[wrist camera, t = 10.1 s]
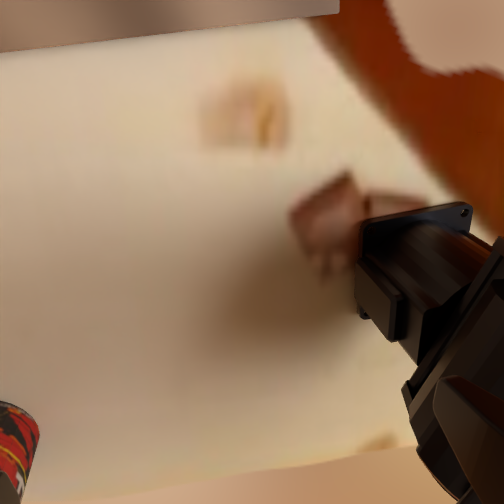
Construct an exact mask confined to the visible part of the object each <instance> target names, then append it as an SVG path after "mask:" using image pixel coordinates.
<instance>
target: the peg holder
mask: <svg viewBox="0 0 504 504" xmlns="http://www.w3.org/2000/svg"><path fill="white" fill-rule="evenodd" d="M336 13H339V0H0V53H2V52H11V51H19V50H28V49H36V48H45V47H53V46H62V45H71V44H79V43H88V42H96V41H105V40H113V39H122V38H130V37H139V36H148V35H156V34H165V33H173V32H182V31H190V30H199V29H207V28H216V27H225V26H233V25H242V24H250V23H259V22H267V21H276V20H284V19H293V18H301V17H310V16H319V15H327V14H336Z"/></svg>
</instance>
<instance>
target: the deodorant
mask: <svg viewBox="0 0 504 504" xmlns="http://www.w3.org/2000/svg"><path fill="white" fill-rule="evenodd" d="M39 436H40V434H39V429H38V425H37V424H36V422H35V421H34V419H33V417H31V416H30V415H29V414H28V413H27V412H25V411H24V410H23V409H21V408H19V407H17V406H15V405H13V404H10V403H6V402H3V401H0V471H4V472H6V473H7V474H8V476H9V478H10V480H11V481H12V483H13V485H14V487H15V488H16V490H17V492H18V494H19V497H20V504H21V500H22V497H23V493H24V490H25V486H26V483H27V479H28V476H29V472H30V469H31V465H32V462H33V458H34V455H35V451H36V448H37V444H38V440H39Z"/></svg>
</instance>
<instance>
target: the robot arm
mask: <svg viewBox="0 0 504 504" xmlns="http://www.w3.org/2000/svg"><path fill="white" fill-rule="evenodd" d="M462 210H464V211H463V213H462V214H461V212H462ZM472 214H473V208H472V206H471V205H469V204H467V203H465V202H459V203H454V204H448V205H443V206H438V207H433V208H427V209H422V210H417V211H412V212H406V213H401V214H396V215H391V216H386V217H380V218H375V219H370V220H367V221H365V222H363V223H362V225H361V226H360V233H359V258H358V259H357V261H356V263H355V298H356V300H357V313H358V314H359V316H360V317H361V318H362V319H364V320H367V319H372V321H373V322H374V323H375V325H376V326H377V327H378V329H379V330H380V331H381V332H382V334H383V335H384V336H385V338H386V339H387V340H388V341H390V342H391V343H392V342H397V341H398V342H399V344H400V345H401V346H402V347H403V349H404V350H405V351H406V352H407V354H408V355H409V356H410V357H411V359H412V360H413V361H414V362H415V364H416V365H417V366H418V367H417V369H416V371H415V372H414V374H413V375H412V377H411V378H410V380H407V381H406V382H405V384H404V385H403V387H402V388H401V391H402V395H403V398H404V401H405V404H406V407H407V410H408V413H409V421H410V424H411V426H412V429H413V431H414V434H415V436H416V439H417V442H418V446H417V448H416V451H417V453H418V456H419V458H420V459H421V461H422V462H423V463H424V465H425V466H426V468H427V469H428V470H429V472H430V473H431V474H432V476H433V477H434V478H435V480H436V481H437V482H438V483H439V485H440V486H441V487H442V488H443V489H444V490H445V491H446V492H447V493H448V494H449V495H450V496H452V497H453V498H454V499H455V500H456V501H458V502H457V503H456V504H504V237H502V236H498V238H497V240H496V241H495V243H494V244H493V246H490V245H489V244H487V243H485V242H484V241H482V240H481V239H479V238H477V237H476V236H474V235H473V234H471V233H469V231H470V225H471V220H472ZM370 227H373V228H372V230H371V231H370V232H367V231H368V229H369V228H370ZM0 504H20V497H19V494H18V492H17V490H16V488H15V487H14V485H13V483H12V481H11V480H10V478H9V476H8V474H7V473H6V472H4V471H0Z"/></svg>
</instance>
